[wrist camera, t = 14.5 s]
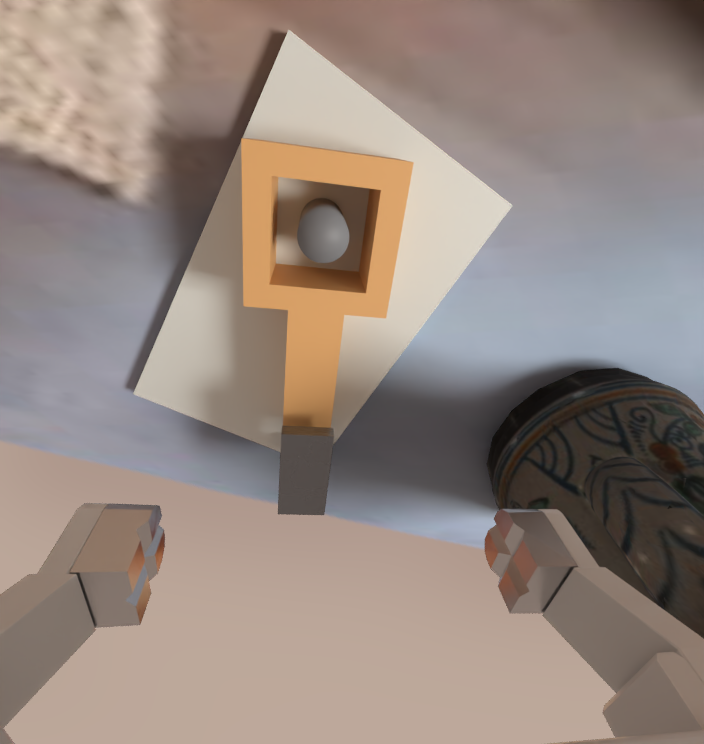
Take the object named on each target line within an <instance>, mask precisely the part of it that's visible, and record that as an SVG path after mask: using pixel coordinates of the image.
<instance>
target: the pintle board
mask: <svg viewBox="0 0 704 744" xmlns="http://www.w3.org/2000/svg"><path fill="white" fill-rule="evenodd" d="M243 138H248V139H260V140H267V141H274V142H281V143H288V144H296V145H303V146H310V147H317V148H324V149H331V150H339V151H346V152H353V153H360V154H367V155H374V156H381V157H389V158H396V159H401V160H406V161H410V162H414V164H413V169H412V175H411V181H410V186H409V192H408V198H407V203H406V209H405V215H404V220H403V226H402V232H401V237H400V243H399V248H398V254H397V260H396V265H395V271H394V277H393V282H392V288H391V294H390V299H389V305H388V310H387V316H386V318H375V317H363V316H351V315H344V322H343V330H342V338H341V346H340V355H339V363H338V371H337V379H336V388H335V396H334V404H333V413H332V421H331V428H334V441H333V445H334V443H335V442H336V441H337V439H338V438H339V437H340V435H341V434H342V433H343V431H344V430H345V429H346V427H347V426H348V425H349V423H350V422H351V421H352V419H353V418H354V417H355V415H356V414H357V413H358V411H359V410H360V409H361V407H362V406H363V405H364V403H365V402H366V401H367V399H368V398H369V397H370V395H371V394H372V393H373V391H374V390H375V389H376V387H377V386H378V385H379V383H380V382H381V381H382V379H383V378H384V377H385V375H386V374H387V373H388V371H389V370H390V369H391V367H392V366H393V365H394V363H395V362H396V361H397V359H398V358H399V357H400V355H401V354H402V353H403V351H404V350H405V349H406V347H407V346H408V345H409V343H410V342H411V341H412V339H413V338H414V337H415V335H416V334H417V333H418V331H419V330H420V328H421V327H422V326H423V324H424V323H425V322H426V320H427V319H428V318H429V316H430V315H431V314H432V312H433V311H434V310H435V308H436V307H437V306H438V304H439V303H440V302H441V300H442V299H443V298H444V296H445V295H446V294H447V292H448V291H449V290H450V288H451V287H452V286H453V284H454V283H455V282H456V280H457V279H458V278H459V276H460V275H461V274H462V272H463V271H464V270H465V268H466V267H467V266H468V264H469V263H470V262H471V260H472V259H473V258H474V256H475V255H476V254H477V252H478V251H479V250H480V248H481V247H482V246H483V244H484V243H485V242H486V240H487V239H488V238H489V236H490V235H491V234H492V232H493V231H494V230H495V228H496V227H497V226H498V224H499V223H500V222H501V220H502V219H503V218H504V216H505V215H506V214H507V212H508V211H509V210H510V208H511V207H512V205H511V204H510V203H509V202H507V201H506V200H505V199H503V198H502V197H501V196H500V195H498V194H497V193H496V192H495V191H493V190H492V189H491V188H489V187H488V186H487V185H486V184H484V183H483V182H482V181H481V180H479V179H478V178H477V177H475V176H474V175H473V174H472V173H470V172H469V171H468V170H467V169H465V168H464V167H463V166H461V165H460V164H459V163H458V162H456V161H455V160H454V159H453V158H451V157H450V156H449V155H447V154H446V153H445V152H444V151H442V150H441V149H440V148H439V147H437V146H436V145H435V144H433V143H432V142H431V141H430V140H428V139H427V138H426V137H425V136H423V135H422V134H421V133H419V132H418V131H417V130H416V129H414V128H413V127H412V126H411V125H409V124H408V123H407V122H405V121H404V120H403V119H402V118H400V117H399V116H398V115H397V114H395V113H394V112H393V111H391V110H390V109H389V108H388V107H386V106H385V105H384V104H383V103H381V102H380V101H379V100H377V99H376V98H375V97H374V96H372V95H371V94H370V93H369V92H367V91H366V90H365V89H363V88H362V87H361V86H360V85H358V84H357V83H356V82H355V81H353V80H352V79H351V78H349V77H348V76H347V75H346V74H344V73H343V72H342V71H341V70H339V69H338V68H337V67H335V66H334V65H333V64H332V63H330V62H329V61H328V60H327V59H325V58H324V57H323V56H321V55H320V54H319V53H318V52H316V51H315V50H314V49H313V48H311V47H310V46H309V45H307V44H306V43H305V42H304V41H302V40H301V39H300V38H299V37H297V36H296V35H295V34H293V33H292V32H291V31H290V30H288V32H287V35H286V37H285V40H284V42H283V44H282V47H281V49H280V51H279V54H278V56H277V58H276V61H275V63H274V65H273V68H272V70H271V72H270V75H269V77H268V79H267V82H266V84H265V86H264V89H263V91H262V93H261V96H260V98H259V100H258V103H257V105H256V107H255V110H254V112H253V114H252V117H251V119H250V121H249V124H248V126H247V129H246V131H245V133H244V136H243ZM369 191H370V189H369V188H362V187H354V186H346V185H338V184H330V183H323V182H315V181H307V180H299V179H291V178H284V177H278V209H277V245H276V264H286V265H296V266H306V267H316V268H326V269H336V270H346V271H356V272H359V266H360V259H361V251H362V244H363V236H364V228H365V221H366V213H367V206H368V198H369ZM287 322H288V310H281V309H269V308H257V307H246V306H243V235H242V160H241V143H240V145H239V147H238V150H237V152H236V154H235V157H234V159H233V161H232V164H231V166H230V168H229V171H228V173H227V175H226V178H225V180H224V182H223V185H222V187H221V189H220V192H219V194H218V196H217V199H216V201H215V203H214V206H213V208H212V210H211V213H210V215H209V218H208V220H207V222H206V225H205V227H204V229H203V232H202V234H201V236H200V239H199V241H198V243H197V246H196V248H195V250H194V253H193V255H192V257H191V260H190V262H189V264H188V267H187V269H186V271H185V274H184V276H183V278H182V281H181V283H180V285H179V288H178V290H177V292H176V295H175V297H174V299H173V302H172V304H171V307H170V309H169V311H168V314H167V316H166V318H165V321H164V323H163V325H162V328H161V330H160V332H159V335H158V337H157V339H156V342H155V344H154V346H153V349H152V351H151V353H150V356H149V358H148V360H147V363H146V365H145V367H144V370H143V372H142V374H141V377H140V379H139V381H138V384H137V386H136V388H135V391H134V393H133V394H134V395H137V396H139V397H142V398H145V399H147V400H150V401H152V402H155V403H157V404H160V405H162V406H165V407H167V408H170V409H172V410H175V411H177V412H180V413H182V414H185V415H188V416H190V417H193V418H195V419H198V420H200V421H203V422H205V423H208V424H210V425H213V426H215V427H218V428H220V429H223V430H225V431H228V432H231V433H233V434H236V435H238V436H241V437H243V438H246V439H248V440H251V441H253V442H256V443H258V444H261V445H263V446H266V447H268V448H271V449H273V450H276V451H279V452H281V433H282V425H283V409H284V387H285V365H286V344H287Z"/></svg>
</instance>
